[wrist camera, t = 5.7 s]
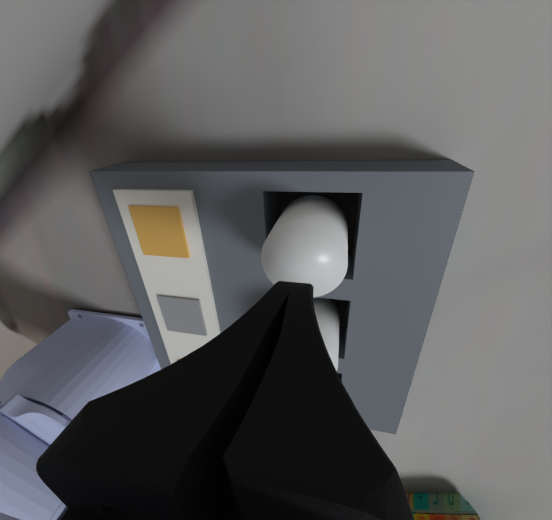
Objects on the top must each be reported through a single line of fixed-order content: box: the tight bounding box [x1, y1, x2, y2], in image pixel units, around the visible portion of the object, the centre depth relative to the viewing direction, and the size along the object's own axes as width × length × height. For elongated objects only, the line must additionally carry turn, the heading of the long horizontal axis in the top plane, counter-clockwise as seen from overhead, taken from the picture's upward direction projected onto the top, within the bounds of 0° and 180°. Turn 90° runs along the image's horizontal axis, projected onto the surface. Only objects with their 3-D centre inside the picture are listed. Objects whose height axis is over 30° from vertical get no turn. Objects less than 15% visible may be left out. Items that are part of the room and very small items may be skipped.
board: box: [89, 160, 474, 434], centre depth 20 cm, size 20×20×4 cm
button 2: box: [261, 195, 348, 298], centre depth 14 cm, size 4×4×4 cm
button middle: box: [313, 297, 340, 371], centre depth 17 cm, size 4×4×4 cm
